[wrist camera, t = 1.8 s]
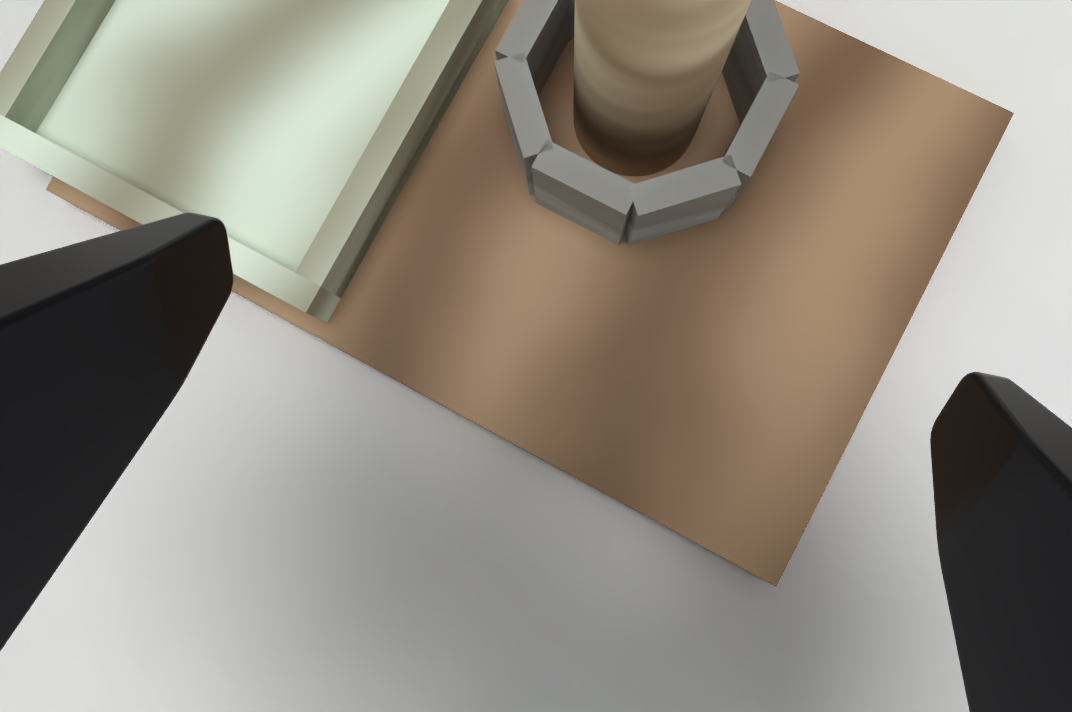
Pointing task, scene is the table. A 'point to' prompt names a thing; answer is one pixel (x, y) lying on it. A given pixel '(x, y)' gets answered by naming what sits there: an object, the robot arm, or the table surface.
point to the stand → (537, 222)
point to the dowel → (647, 76)
